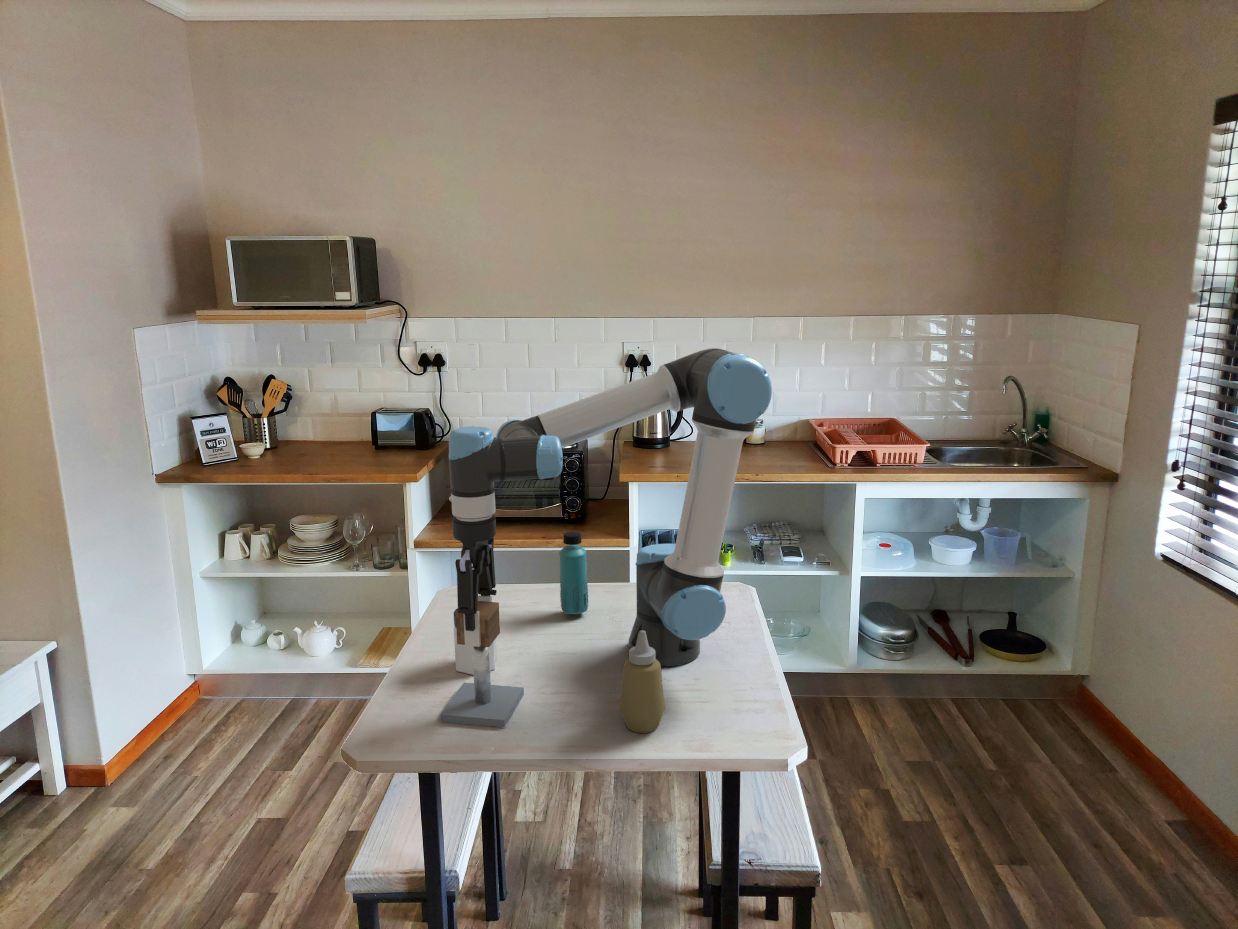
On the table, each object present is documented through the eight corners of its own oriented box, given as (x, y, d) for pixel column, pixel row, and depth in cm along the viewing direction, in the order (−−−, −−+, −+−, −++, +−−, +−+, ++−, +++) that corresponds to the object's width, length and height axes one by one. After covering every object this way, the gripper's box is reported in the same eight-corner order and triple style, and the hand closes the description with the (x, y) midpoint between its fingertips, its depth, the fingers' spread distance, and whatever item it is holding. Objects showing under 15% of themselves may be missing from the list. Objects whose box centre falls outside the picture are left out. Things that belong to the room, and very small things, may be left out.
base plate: (523, 694, 165) (523, 687, 164) (504, 727, 153) (504, 720, 153) (464, 689, 167) (463, 682, 166) (440, 721, 155) (440, 714, 155)
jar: (464, 679, 171) (461, 623, 168) (448, 663, 177) (445, 609, 174) (505, 667, 176) (502, 612, 173) (488, 652, 182) (485, 599, 179)
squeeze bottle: (650, 742, 148) (650, 645, 144) (611, 729, 152) (610, 635, 148) (673, 721, 155) (673, 628, 151) (634, 709, 159) (634, 618, 155)
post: (493, 697, 161) (490, 637, 158) (488, 705, 158) (485, 645, 155) (478, 695, 161) (475, 636, 158) (472, 703, 158) (469, 643, 156)
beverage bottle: (588, 620, 198) (586, 537, 193) (559, 620, 198) (556, 537, 193) (589, 609, 204) (587, 528, 199) (561, 609, 204) (559, 528, 199)
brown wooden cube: (499, 632, 159) (498, 602, 157) (489, 647, 153) (488, 615, 152) (468, 630, 160) (467, 600, 159) (457, 644, 154) (455, 613, 153)
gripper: (471, 499, 161) (477, 614, 166) (432, 530, 143) (439, 659, 148) (510, 501, 159) (514, 617, 165) (475, 533, 141) (481, 662, 147)
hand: (479, 637), depth 157 cm, fingers closed on brown wooden cube, 6 cm apart
